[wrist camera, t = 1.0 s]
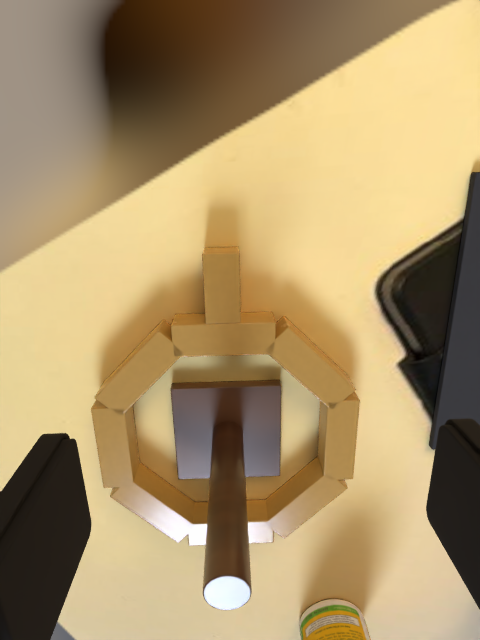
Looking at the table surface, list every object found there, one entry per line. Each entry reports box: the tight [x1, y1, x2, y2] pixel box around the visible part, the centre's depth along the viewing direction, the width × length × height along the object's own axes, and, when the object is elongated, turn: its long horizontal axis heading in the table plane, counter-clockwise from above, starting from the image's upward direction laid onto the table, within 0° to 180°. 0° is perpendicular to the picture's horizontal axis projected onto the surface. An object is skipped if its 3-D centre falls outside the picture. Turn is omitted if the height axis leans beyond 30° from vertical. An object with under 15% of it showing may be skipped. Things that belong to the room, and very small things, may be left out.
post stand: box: [171, 380, 281, 610], centre depth 23 cm, size 7×7×12 cm
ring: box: [91, 247, 360, 545], centre depth 27 cm, size 20×16×2 cm
